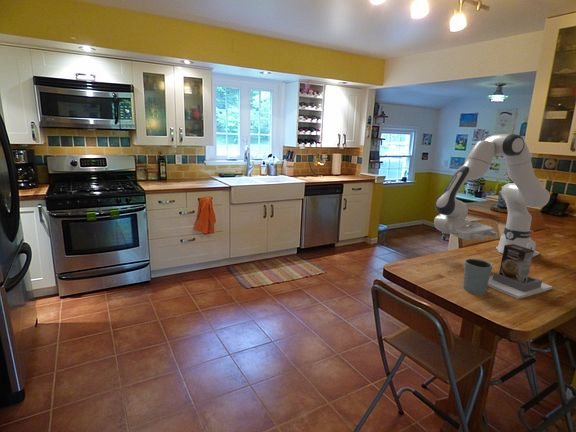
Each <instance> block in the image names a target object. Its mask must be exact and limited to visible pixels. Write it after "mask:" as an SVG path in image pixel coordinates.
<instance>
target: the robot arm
mask: <svg viewBox="0 0 576 432" xmlns="http://www.w3.org/2000/svg"><path fill="white" fill-rule="evenodd" d="M494 157H504V160H505V166H506V173H507V177H508V179H509V180H511V182H508V183H506V184H505V185H503V186H502V188H501V191H500V194H501V197H502V199H503V200H504V202H505V204H506V208H507V210H506V211H507V218H506V223H505V224H506V225H505V227H504V229H503V234H502V235H501V236H500V239H499V242H498V246H496V247H495V249H496V250H497V251H498V252H499V253H501V254H502V255H503V251H504V245H509V244H515V245H518V246H521V247H524V248H528V249H531V250H534V253H533V257H532V259H533V258H535V257H537V256H539V255H540V252H539V251H537V250H536V244H537V243H536V242H535V241H534V240H533V239H532V238H531V235H533V234H534V230H531V226H532V225H531V224H532V220H533V217H532V214H531V213H530V212H529V210H528V207H530V208H543V207H545V206H546V205H547V204H548V203H549V201H550V198H551V195H550V191H549V190H548V189H546V188H545V187H544V186H543V185H542V184H541V183H540V181H539V179H538V178H537V176H536V174H535V172H534V168H533V164H532V163H533V162H532V156H531V153H530V150H529V147H528V145H527V143H526V142H525V140H524V138H523V136H521V135H519V134H514V133H512V134H509V133H498V134H488V135H485V136H484V137H483V138H482V139H481V140H479V141H477V142H476V143H475V144H474V145H473V147H472V148H471V150H470V152H469V154H468V156H467V158H466V160H465V162H464V163H463V165H461V166H459V168H458V169H457V170H456V171H455V172H454V174H453V176H452V177H451V179H450V180H449V182H448V184H446V186H445V188H444V190H443V191H442V192H441V194H440V195H439V196H438V198H437V199H436V200H435V204H434V208H435V210H436V212H437V213H438V215H436V216H435V217H434V220H433V225H434V227H435V229H436V230H438V231H440V232H442V233H444V234H448V235H453V236H455V237H457V238H460V239H461V240H465V241H469V240H479V241H480V240H481V241H484V240H485V239H486V237H489V236H491V237H492V238H497V237H498V236H499V233H498V232H495V231H494V230H495V229H494V227H492V226H490V225H487V224H484V223H479V221H474V220H473V221H472V220H471V221H470V220H466V218H467V215H468V213H469V206H468V204H467V203H465V202H463V201H462V200H460V199H457V195H458V193H459V192H460V189H462V187H463V185H464V183H466V181H467V182H468V181H470V180H478V179H481V178H483V177H484V176H485V175H486V174H487V172H488V170H489V169H490V165H491V164H492V162H493V160H494V159H493V158H494Z"/></svg>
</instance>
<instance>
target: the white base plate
mask: <svg viewBox="0 0 576 432" xmlns="http://www.w3.org/2000/svg"><path fill="white" fill-rule="evenodd" d="M487 287H489V288H491V289H494V290H495V291H498V292H501V293H503V294H506V295H508V296H511V297H512V298H514V299H517V300H520V299H524V298H527V297H530V296H533V295H537V294H541V293H543V292H547V291H550V290H553V286H552V285H549V284H547V283H543V280H541V279H538V278H536V277H532V276H530V275H528V279H527V283H521V282H519V281H516V280H514V279H511V278H508V277H506V276H503V275H500V274H499V272H498V273H497V272H493V274H492V275H490V277H489V281H488V285H487Z"/></svg>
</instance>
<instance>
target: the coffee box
mask: <svg viewBox="0 0 576 432" xmlns="http://www.w3.org/2000/svg"><path fill="white" fill-rule="evenodd" d="M533 253H534V250H531V249H528V248H524V247H521V246H518V245H515V244H509V245H504V251H503V254H502V256H501V262H500V266H499V271H498V274H500V275H503V276H506V277H508V278H511V279H514V280H516V281H519V282H521V283H527V279H528V276H529V274H530V273H529V272H530V270H531V269H530V268H531V265H532V261H533V258H534V257H533ZM532 257H533V258H532Z"/></svg>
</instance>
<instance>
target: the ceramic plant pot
mask: <svg viewBox="0 0 576 432" xmlns="http://www.w3.org/2000/svg"><path fill="white" fill-rule="evenodd" d="M492 269H493V264H492V263H491V262H489V261H485V260H482V259H476V258H466V259H465V260H464V269H463V270H464V271H463V275H464V276H463V284H462V287H463V290H464V291H465V292H468V293H471V294H475V295H484V294H486V293H487V288H488V286H487V285H488V281H489V277H490V276H491V273H492Z"/></svg>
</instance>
